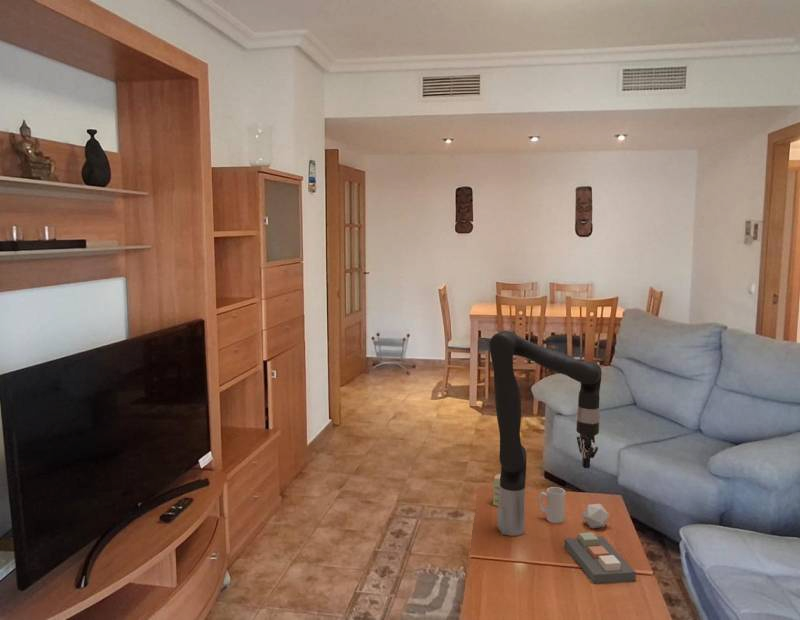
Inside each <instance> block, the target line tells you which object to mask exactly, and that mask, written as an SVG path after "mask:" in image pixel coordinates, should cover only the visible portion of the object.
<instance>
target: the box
mask: <svg viewBox="0 0 800 620" xmlns="http://www.w3.org/2000/svg"><path fill="white" fill-rule="evenodd" d="M500 476H501V473H497V474H496V475H495V476H494V478H493V496H492V498H493V499H492V501H493V502H492V504H493V506H496V507H498V503H500Z"/></svg>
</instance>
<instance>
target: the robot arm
mask: <svg viewBox="0 0 800 620" xmlns="http://www.w3.org/2000/svg"><path fill="white" fill-rule="evenodd" d="M488 347H489V353H490V359H491V364H492V369H493V387H494V401H495V412H496V418H497V419H496V420H497V425H498V431H499V457H498V458H499V459H498V460H499V463H500V465H501V466H500V469H501V470H500V474H501V476H500V503H498V506H497V529H498V532H500V534H501V535H506V536H509V537H517V536H521V535H523V534H524V533H525V506H526V505H525V504H526V503H525V502H526V501H525V500H526V477H527V450H526V448H525V446H524V445H522V442H521V424H522V423H521V422H522V399H521V391H520V387H519V384H518V381H517V379H516V376H515V372H514V371H515V370H514V356H517V357H520V358H521V357H522V358H525V359H527V360H530V361H532V362H534V363H535V364H538V365H539V366H541V367H543V368H545V369H547V370H550V371H552V372H555V373H558V374H561V375H564V376H566V377H569V378H571V379H572V380H574V381H576V382H579V383H580V390H579V391H578V397H577V398H578V399H577V400H578V401H577V403H578V404H577V411H576V429H575V430H576V432H577V434H579V436H576V440H577V442H576V443H577V445H578V450H579V453H580V454H581V457H582V460H581V461H582V463H581V467H582V468H584V469H590V467H591V459H594V457H596V454H597V453H598V451H599V447H598V446H596V445H595V444H596V440H595V436H597V435H598V434H599V433H600V417H601V416H600V413H601V412H600V399H601V398H600V390H601V383H602V374H603V373H602V368H601V366H600V365H599V364H598V363H597V362H596V361H586V362H582V361H580V360H577V359H575V357H573V356H572V355H570V354H566V353H562V352H560V351H557V350H554V349H552V348H547V347H545V346H542V345H539V344H537V343H534V342H532V341H529V340H528V339H525V338H523V337H522V336H519V335H517V334H516V333H514V332H511V331H510V330H501V331H499V332H497V333H495V334H494V335H492V336H491V338H490V339H489V344H488Z"/></svg>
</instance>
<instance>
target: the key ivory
mask: <svg viewBox="0 0 800 620" xmlns="http://www.w3.org/2000/svg"><path fill="white" fill-rule="evenodd" d="M598 565H599V566H600V567H601V568H602V569H603V571H604V572H614V571H620V566H621V563H620V562H619V561H618V560H617V558H616V557H615V556H614V555H606V556H599V563H598Z"/></svg>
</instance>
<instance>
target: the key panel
mask: <svg viewBox="0 0 800 620" xmlns="http://www.w3.org/2000/svg"><path fill="white" fill-rule="evenodd" d="M596 537H597V538H598V546H603V547H604V548H605V549H606V550H607V552H608V553H609V555H614V556H615V557H616V558H617V560H618V561H619V562H620V563H621V566H620V571H614V572H604V571H603V569H602V568H601V567H600V566H599V565H598V563H599V559H593V558H592V556H591V555H590V554H589V553H588V547H583V546H582V545H581V544H580V542H579V541H578V539H579V537H567V538H566V537H565V538H564V541H563V542H564V543H563V544H564V546H563V547H564V549H566V551H567V552H568V554H570V556H571V557H572V558H573V560H574V561H575V562H576V563H577V565H578V566H579V567H580V568H581V570H582V571H583V572H584V573H585V575H586V576H587V578H589V580H590V581H591V583H593V584H594V585H596V584H611V583H612V584H613V583H623V582H624V583H625V582H626V583H627V582H636V580H637V579H636V577H637V571H636V570H635V569H634V568H633V567H632V566H631V565H630V564H629V563H628V562H627V561H626V560H625V559H624V557H623V556H621V554H620V553H619V552H618V551H617V550H616V549H615V548H614V547H613V546H612V545H611V544H610V543H609V542H608V541H607V540H606V539H605V538H604V536H603V535H602V536H601V535H600V536H596Z"/></svg>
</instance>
